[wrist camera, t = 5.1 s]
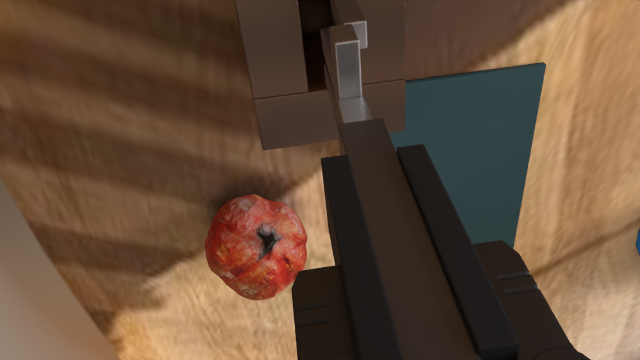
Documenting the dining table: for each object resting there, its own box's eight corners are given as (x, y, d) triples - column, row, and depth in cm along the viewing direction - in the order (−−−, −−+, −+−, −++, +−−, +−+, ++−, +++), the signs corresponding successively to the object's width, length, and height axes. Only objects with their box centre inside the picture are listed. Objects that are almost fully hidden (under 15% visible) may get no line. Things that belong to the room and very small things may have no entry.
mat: (362, 86, 35) (363, 89, 35) (543, 62, 36) (546, 64, 36) (371, 271, 46) (372, 275, 46) (510, 251, 47) (512, 254, 46)
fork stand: (220, -131, 27) (213, -109, 22) (374, -150, 27) (407, -133, 22) (260, 92, 35) (262, 151, 29) (380, 76, 35) (405, 131, 30)
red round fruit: (289, 233, 46) (349, 215, 37) (256, 315, 43) (313, 315, 34) (212, 193, 43) (257, 163, 35) (172, 276, 40) (211, 267, 32)
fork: (308, -11, 21) (481, 570, 6) (348, -16, 21) (630, 545, 6) (321, 115, 25) (450, 685, 9) (356, 111, 25) (541, 671, 9)
